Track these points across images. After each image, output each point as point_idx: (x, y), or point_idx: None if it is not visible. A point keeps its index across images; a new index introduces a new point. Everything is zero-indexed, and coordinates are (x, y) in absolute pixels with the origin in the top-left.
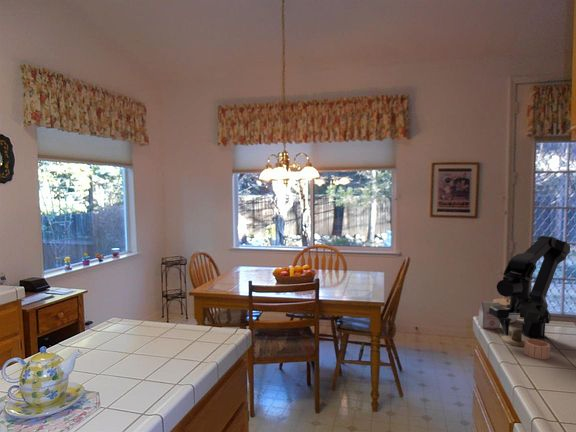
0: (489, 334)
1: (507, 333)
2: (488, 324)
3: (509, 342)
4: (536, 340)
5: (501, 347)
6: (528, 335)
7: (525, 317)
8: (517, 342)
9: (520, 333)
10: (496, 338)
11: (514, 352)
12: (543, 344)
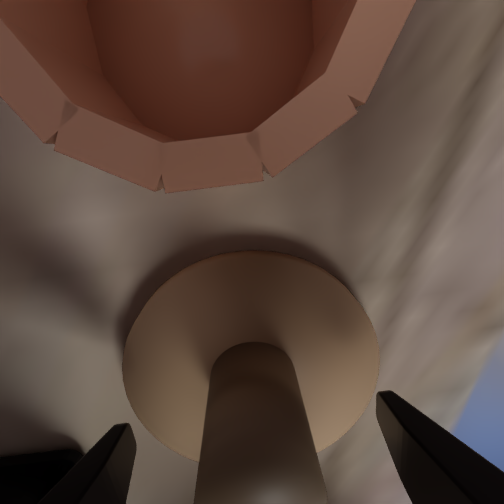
0: None
1: (405, 410)
2: None
3: (363, 310)
4: (120, 126)
5: (493, 208)
6: (118, 425)
7: None
8: (279, 318)
9: (240, 418)
10: None
11: (442, 76)
12: (34, 37)
